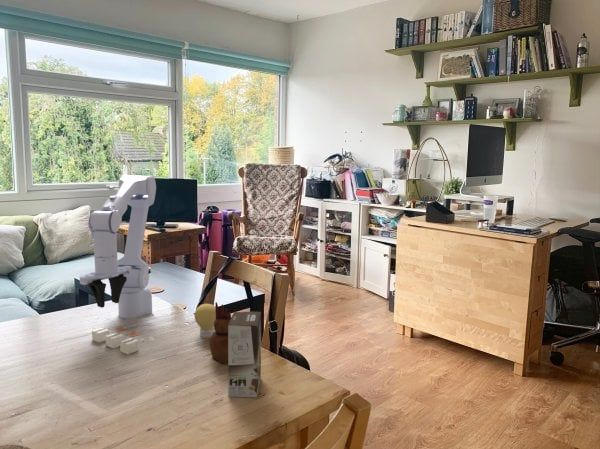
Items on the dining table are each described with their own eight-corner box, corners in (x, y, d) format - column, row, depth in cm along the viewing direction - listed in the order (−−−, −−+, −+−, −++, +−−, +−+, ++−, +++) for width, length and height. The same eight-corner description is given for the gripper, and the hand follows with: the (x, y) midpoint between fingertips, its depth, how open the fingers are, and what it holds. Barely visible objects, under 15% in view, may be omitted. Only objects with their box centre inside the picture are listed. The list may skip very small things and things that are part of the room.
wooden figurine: (205, 362, 122) (204, 303, 120) (220, 353, 128) (219, 297, 125) (228, 368, 119) (227, 308, 117) (242, 359, 124) (241, 301, 122)
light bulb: (213, 345, 133) (213, 309, 131) (191, 342, 134) (190, 307, 132) (222, 336, 139) (221, 301, 137) (200, 334, 140) (199, 299, 138)
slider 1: (102, 336, 134) (102, 326, 134) (109, 339, 132) (108, 329, 132) (92, 339, 132) (91, 330, 131) (99, 342, 130) (98, 332, 130)
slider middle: (116, 341, 131) (115, 332, 130) (123, 344, 129) (122, 334, 129) (106, 345, 128) (105, 335, 128) (113, 348, 127) (112, 338, 126)
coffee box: (257, 398, 106) (257, 325, 103) (227, 397, 106) (226, 325, 103) (261, 378, 115) (262, 310, 112) (233, 377, 115) (233, 310, 112)
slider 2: (130, 347, 127) (130, 337, 127) (138, 350, 126) (137, 340, 125) (120, 351, 125) (120, 341, 124) (128, 354, 123) (127, 344, 123)
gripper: (89, 262, 125) (92, 314, 127) (138, 252, 136) (140, 300, 139) (73, 258, 129) (76, 309, 131) (122, 249, 140) (124, 295, 143)
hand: (108, 304), depth 135 cm, fingers open, 4 cm apart
